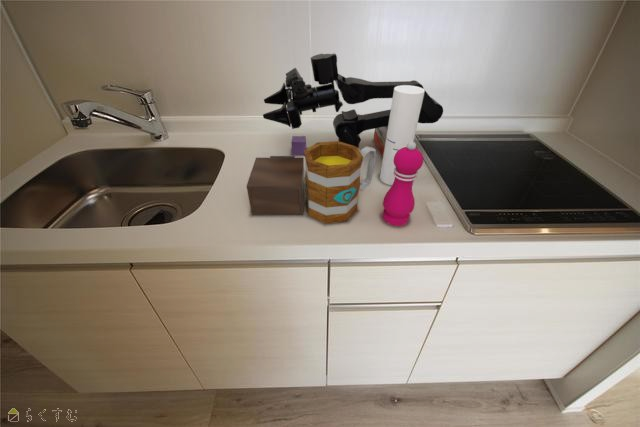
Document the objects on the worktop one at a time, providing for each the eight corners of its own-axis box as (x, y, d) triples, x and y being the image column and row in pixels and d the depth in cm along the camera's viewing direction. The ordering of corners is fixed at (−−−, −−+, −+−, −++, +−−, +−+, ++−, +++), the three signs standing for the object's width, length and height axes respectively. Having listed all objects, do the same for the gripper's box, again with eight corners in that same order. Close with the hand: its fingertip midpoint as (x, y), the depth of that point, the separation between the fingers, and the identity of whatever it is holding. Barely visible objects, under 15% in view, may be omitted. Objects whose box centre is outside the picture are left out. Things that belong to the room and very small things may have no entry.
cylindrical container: (389, 169, 88) (404, 83, 73) (409, 178, 84) (430, 89, 69) (374, 178, 84) (388, 89, 69) (395, 188, 80) (414, 96, 65)
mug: (322, 231, 66) (323, 175, 57) (295, 201, 75) (292, 149, 66) (386, 204, 74) (396, 152, 65) (354, 180, 83) (359, 131, 74)
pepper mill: (377, 209, 73) (389, 134, 60) (404, 208, 73) (423, 133, 61) (384, 228, 67) (400, 150, 55) (414, 226, 68) (436, 149, 55)
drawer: (264, 170, 86) (262, 149, 81) (302, 170, 86) (302, 149, 82) (255, 205, 72) (251, 182, 68) (300, 205, 73) (299, 182, 68)
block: (306, 148, 99) (305, 136, 96) (305, 154, 95) (305, 142, 92) (292, 148, 99) (292, 136, 96) (292, 154, 95) (291, 142, 92)
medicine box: (372, 139, 104) (375, 118, 99) (394, 139, 105) (398, 117, 100) (384, 160, 93) (387, 136, 88) (408, 159, 93) (413, 135, 88)
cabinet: (260, 184, 81) (255, 157, 76) (304, 184, 81) (303, 157, 76) (251, 215, 71) (246, 186, 65) (302, 215, 71) (301, 185, 66)
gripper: (309, 55, 82) (256, 67, 83) (315, 82, 69) (252, 96, 70) (315, 93, 90) (267, 103, 91) (322, 124, 77) (266, 135, 78)
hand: (263, 108), depth 82 cm, fingers open, 9 cm apart
